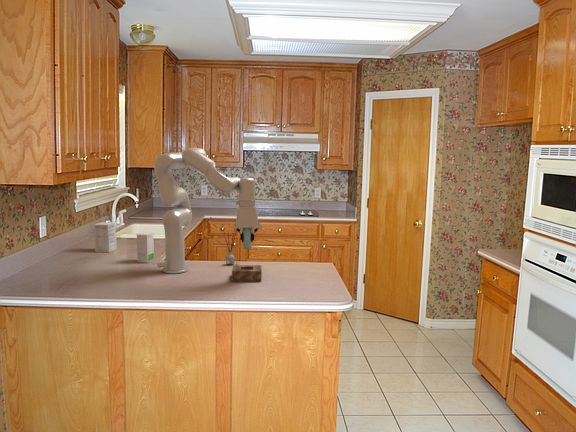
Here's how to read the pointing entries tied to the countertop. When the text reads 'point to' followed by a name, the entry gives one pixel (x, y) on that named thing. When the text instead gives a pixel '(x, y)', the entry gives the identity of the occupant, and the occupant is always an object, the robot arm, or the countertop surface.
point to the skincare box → (145, 247)
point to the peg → (247, 238)
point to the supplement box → (105, 237)
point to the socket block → (246, 273)
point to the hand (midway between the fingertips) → (247, 241)
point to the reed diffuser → (230, 253)
